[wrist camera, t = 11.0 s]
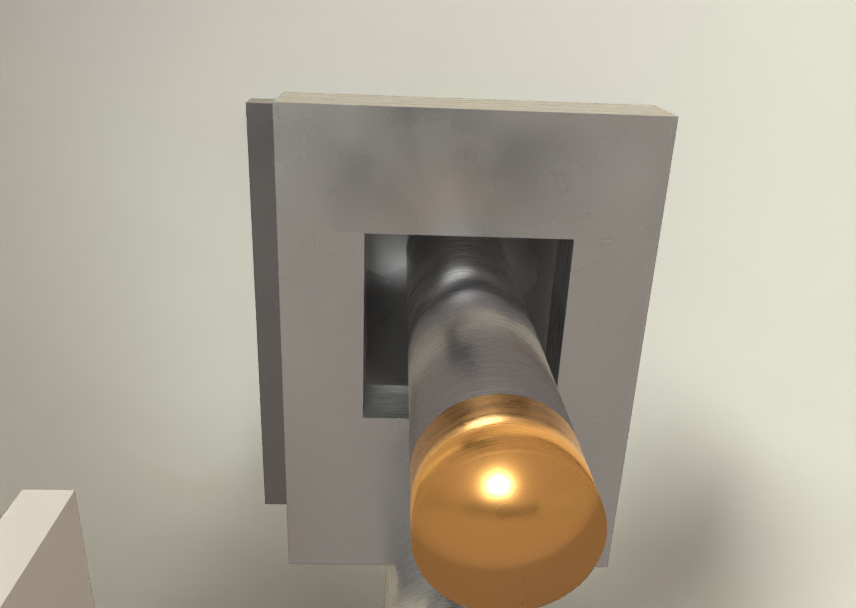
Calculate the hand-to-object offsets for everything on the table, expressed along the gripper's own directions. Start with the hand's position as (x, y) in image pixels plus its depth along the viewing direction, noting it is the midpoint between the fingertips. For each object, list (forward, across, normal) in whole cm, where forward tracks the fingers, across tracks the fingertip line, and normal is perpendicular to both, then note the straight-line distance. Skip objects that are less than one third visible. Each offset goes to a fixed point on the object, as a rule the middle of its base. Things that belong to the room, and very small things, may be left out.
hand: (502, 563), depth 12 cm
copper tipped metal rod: (+17, 0, -1) cm, 17 cm away
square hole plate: (+18, 0, -4) cm, 18 cm away
